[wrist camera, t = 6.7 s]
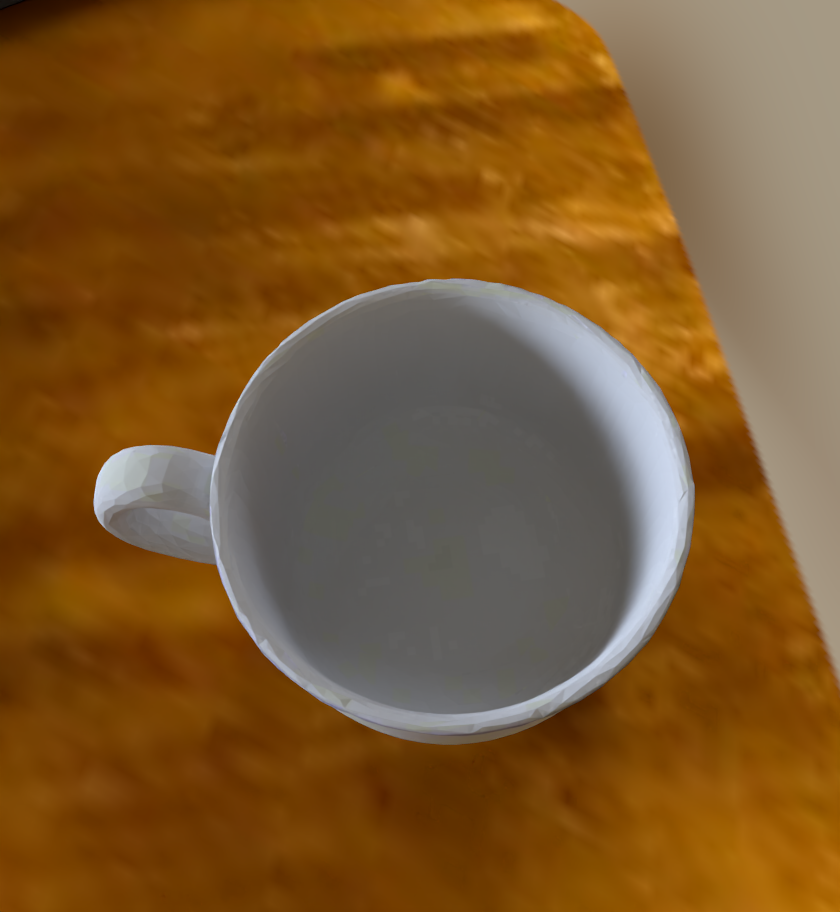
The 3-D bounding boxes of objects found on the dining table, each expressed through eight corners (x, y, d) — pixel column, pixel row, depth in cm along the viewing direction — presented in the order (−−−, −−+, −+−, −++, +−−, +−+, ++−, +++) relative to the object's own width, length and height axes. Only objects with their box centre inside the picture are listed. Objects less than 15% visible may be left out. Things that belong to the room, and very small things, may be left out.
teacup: (646, 468, 26) (717, 313, 19) (604, 823, 21) (678, 790, 14) (245, 394, 28) (175, 229, 21) (122, 702, 23) (-24, 621, 16)
